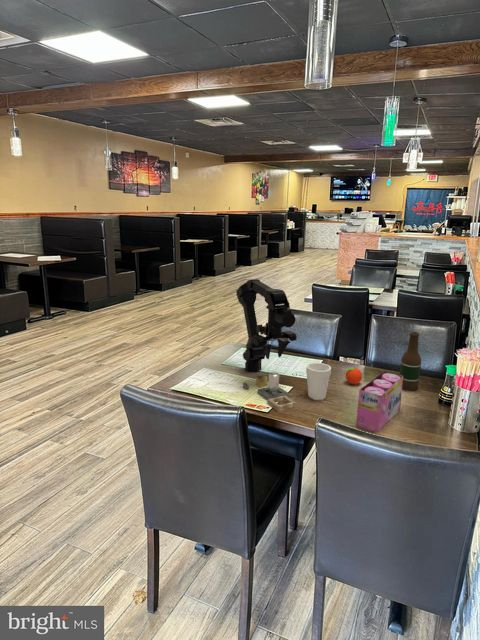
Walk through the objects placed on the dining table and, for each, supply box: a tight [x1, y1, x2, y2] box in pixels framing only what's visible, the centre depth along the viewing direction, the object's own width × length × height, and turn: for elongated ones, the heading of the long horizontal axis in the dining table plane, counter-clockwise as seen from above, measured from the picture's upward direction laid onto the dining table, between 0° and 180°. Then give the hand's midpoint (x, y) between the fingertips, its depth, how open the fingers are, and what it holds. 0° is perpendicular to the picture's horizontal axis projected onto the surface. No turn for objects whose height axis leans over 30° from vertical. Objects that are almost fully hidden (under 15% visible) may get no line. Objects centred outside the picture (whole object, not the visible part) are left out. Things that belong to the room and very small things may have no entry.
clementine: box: [344, 367, 363, 385], centre depth 183 cm, size 8×7×7 cm
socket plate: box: [242, 382, 291, 400], centre depth 171 cm, size 14×18×3 cm
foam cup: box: [305, 362, 332, 401], centre depth 167 cm, size 10×9×13 cm
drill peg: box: [267, 371, 280, 395], centre depth 167 cm, size 4×4×9 cm
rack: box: [266, 396, 297, 412], centre depth 160 cm, size 8×7×3 cm
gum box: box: [355, 370, 403, 433], centre depth 153 cm, size 24×8×14 cm, turn 142°
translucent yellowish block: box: [254, 374, 269, 388], centre depth 177 cm, size 4×3×4 cm
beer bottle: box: [398, 331, 422, 392], centre depth 177 cm, size 8×8×24 cm
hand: (273, 358), depth 177 cm, fingers open, 5 cm apart
